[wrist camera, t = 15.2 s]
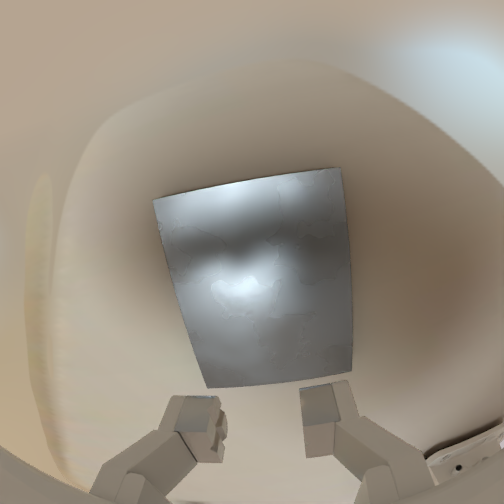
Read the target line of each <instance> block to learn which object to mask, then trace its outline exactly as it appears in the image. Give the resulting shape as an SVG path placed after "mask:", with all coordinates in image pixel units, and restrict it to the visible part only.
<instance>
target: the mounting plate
mask: <svg viewBox="0 0 504 504" xmlns="http://www.w3.org/2000/svg"><path fill="white" fill-rule="evenodd" d="M153 205H154V210H155V214H156V219H157V223H158V228H159V232H160V236H161V240H162V244H163V248H164V252H165V256H166V260H167V264H168V268H169V272H170V275H171V279H172V282H173V286H174V289H175V293H176V296H177V300H178V303H179V307H180V310H181V313H182V316H183V320H184V323H185V326H186V329H187V332H188V335H189V338H190V341H191V344H192V347H193V350H194V353H195V356H196V359H197V361H198V364H199V367H200V370H201V373H202V375H203V378H204V381H205V383H206V386H207V388H227V387H243V386H255V385H266V384H275V383H284V382H291V381H299V380H306V379H312V378H318V377H324V376H330V375H335V374H340V373H345V372H350V371H352V284H351V264H350V249H349V237H348V226H347V216H346V207H345V198H344V190H343V183H342V175H341V169H340V167H338V168H327V169H319V170H311V171H303V172H296V173H289V174H282V175H276V176H269V177H263V178H257V179H251V180H245V181H240V182H234V183H229V184H223V185H218V186H213V187H208V188H203V189H198V190H194V191H189V192H184V193H180V194H175V195H171V196H167V197H162V198H159V199H155V200H153Z"/></svg>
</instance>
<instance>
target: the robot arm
mask: <svg viewBox="0 0 504 504" xmlns="http://www.w3.org/2000/svg"><path fill="white" fill-rule="evenodd" d="M299 393H300V403H301V412H302V423H303V432H304V442H305V451H306V458H312V457H320V456H327V455H333V454H334V457H335V458H337V459H338V460H339V461H340V462H341V463H342V464H343V465H344V466H345V467H346V468H347V469H348V470H349V471H350V472H351V473H352V474H353V475H355V476H356V477H357V478H358V479H359V480H360V481H361V482H362V483H361V486H360V488H359V491H358V494H357V497H356V499H355V502H354V504H504V448H503V449H501V447H500V444H499V442H500V440H501V439H502V437H503V435H504V423H502V424H500V425H498V426H496V427H494V428H492V429H490V430H488V431H486V432H484V433H482V434H479V435H477V436H475V437H473V438H470V439H468V440H466V441H463V442H461V443H458V444H456V445H453V446H451V447H448V448H445V449H443V450H440V451H438V452H436V453H435V454H433V455H432V456H430V457H429V458H428V459H427V460H425V459H424V456H423V454H422V451H420V450H419V449H417V448H415V447H413V446H412V445H410V444H408V443H407V442H405V441H403V440H402V439H400V438H398V437H397V436H395V435H393V434H392V433H390V432H389V431H387V430H385V429H384V428H382V427H381V426H379V425H377V424H376V423H374V422H373V421H371V420H370V419H368V418H367V417H365V416H363V417H360V416H359V413H358V410H357V407H356V404H355V401H354V397H353V394H352V391H351V388H350V385H349V382H348V381H347V380H344V381H339V382H334V383H331V384H330V383H329V384H324V385H318V386H312V387H306V388H299ZM220 407H221V402H220V399H219V397H218V396H177V395H174V396H172V397H171V398H170V401H169V403H168V406H167V408H166V411H165V413H164V416H163V418H162V420H161V423H160V425H159V428H158V430H153V431H151V432H150V433H149V434H147V435H146V436H144V437H143V438H142V439H140V440H139V441H137V442H136V443H134V444H133V445H131V446H130V447H129V448H127V449H126V450H124V451H123V452H121V453H120V454H118V455H117V456H115V457H113V458H112V459H110V460H109V461H107V462H106V463H104V464H103V465H102V467H101V469H100V471H99V473H98V475H97V478H96V480H95V482H94V484H93V486H92V488H91V490H90V492H89V493H87V492H85V491H82V490H80V489H78V488H75V487H73V486H71V485H69V484H66V483H64V482H62V481H60V480H58V479H56V478H54V477H52V476H50V475H48V474H46V473H44V472H42V471H40V470H38V469H37V468H35V467H33V466H31V465H30V464H28V463H26V462H25V461H23V460H21V459H20V458H18V457H17V456H15V455H13V454H12V453H10V452H9V451H7V450H6V449H4V448H3V447H2V446H0V504H172V503H171V502H170V501H169V500H168V499H167V498H166V497H165V496H166V495H167V494H168V493H169V492H170V491H171V490H172V489H173V488H174V487H175V486H176V485H177V484H178V483H179V482H180V481H181V480H182V479H183V478H184V477H185V476H186V475H187V474H188V473H189V472H190V471H191V470H192V469H193V468H194V467H195V466H196V465H197V462H199V463H223V457H224V451H225V446H224V444H223V442H222V441H223V440H224V439H225V438H226V437H227V431H228V426H227V418H226V415H225V412H224V411H222V410H221V409H220Z"/></svg>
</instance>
